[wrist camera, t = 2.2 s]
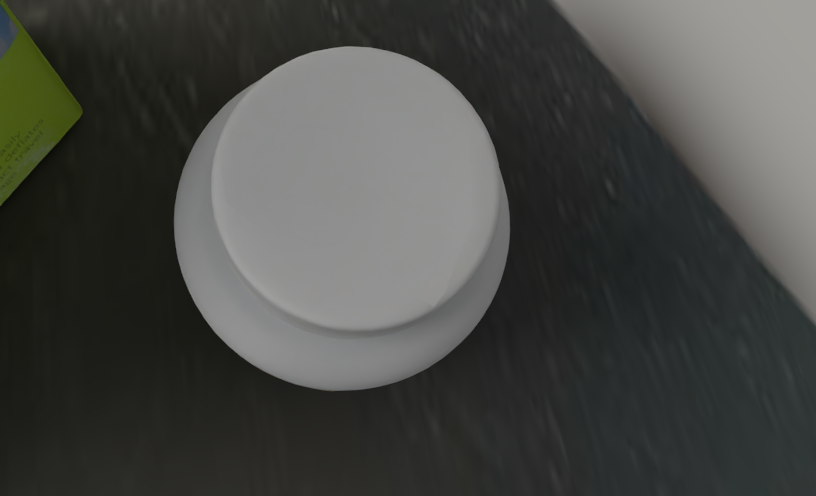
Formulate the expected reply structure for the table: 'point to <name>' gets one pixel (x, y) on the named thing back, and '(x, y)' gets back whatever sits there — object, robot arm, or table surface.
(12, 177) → the box
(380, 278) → the supplement bottle
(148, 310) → the table surface
